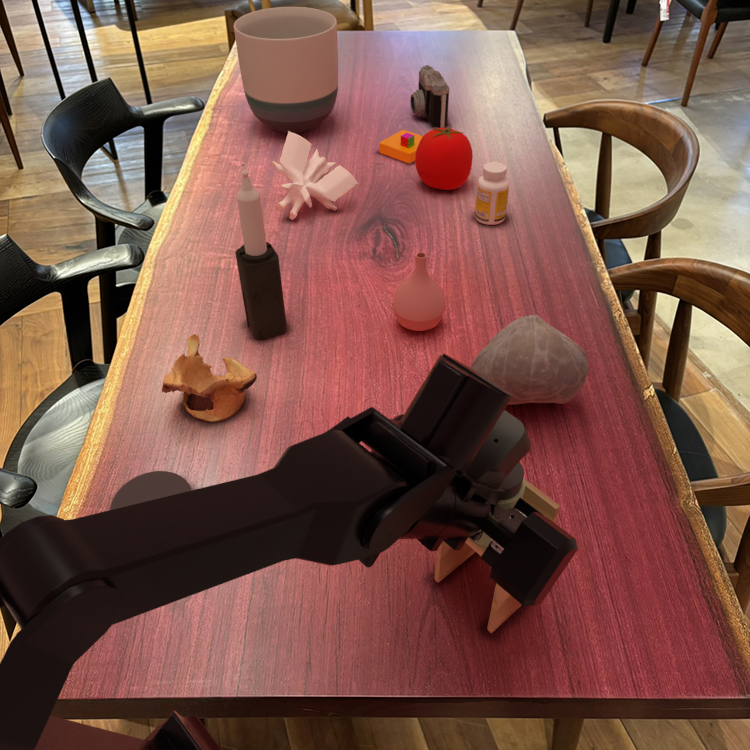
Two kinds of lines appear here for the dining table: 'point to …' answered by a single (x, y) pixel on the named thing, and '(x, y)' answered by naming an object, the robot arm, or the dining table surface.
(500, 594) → the miniature wooden chair
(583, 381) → the decorative stone
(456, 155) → the tomato
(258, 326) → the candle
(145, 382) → the dining table surface
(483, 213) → the supplement bottle
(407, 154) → the orange square tile
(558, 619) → the dining table surface
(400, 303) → the pink bud vase
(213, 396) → the bone
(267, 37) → the planter
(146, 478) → the trivet
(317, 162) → the figurine
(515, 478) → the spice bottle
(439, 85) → the camera
